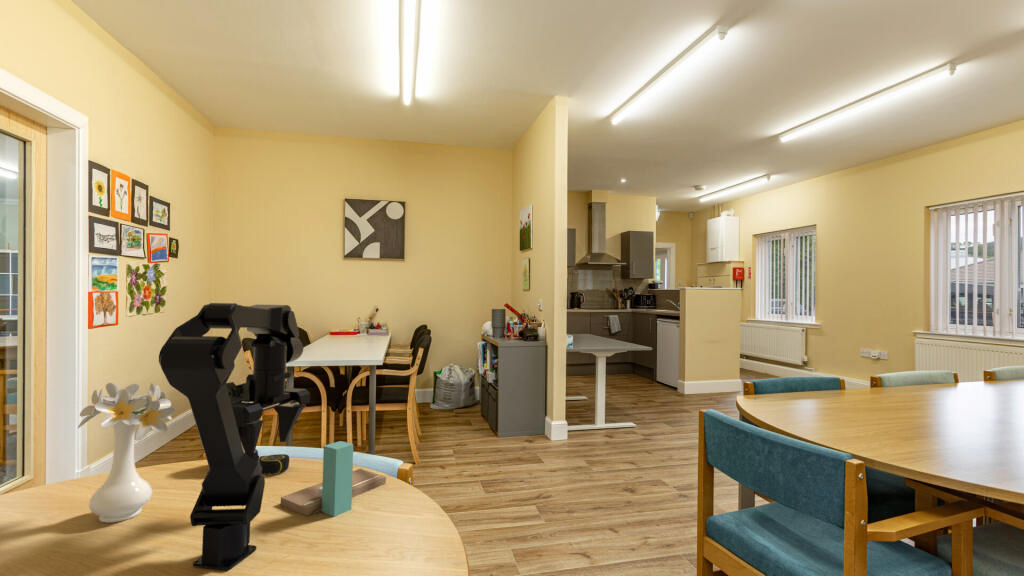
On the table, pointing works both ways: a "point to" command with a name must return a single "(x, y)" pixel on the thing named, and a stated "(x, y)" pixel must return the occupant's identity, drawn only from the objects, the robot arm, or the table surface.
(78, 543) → the table surface
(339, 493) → the teal rectangular block
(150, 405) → the flower vase
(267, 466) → the tape measure
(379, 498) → the table surface
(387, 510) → the table surface
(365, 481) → the board
